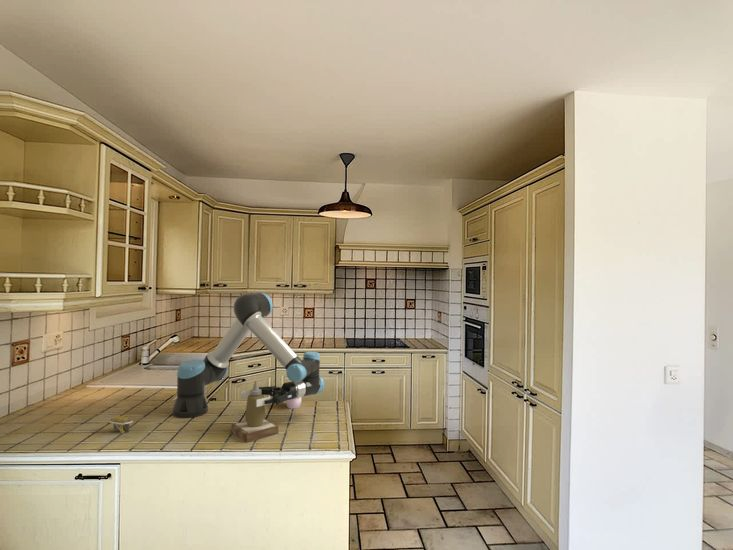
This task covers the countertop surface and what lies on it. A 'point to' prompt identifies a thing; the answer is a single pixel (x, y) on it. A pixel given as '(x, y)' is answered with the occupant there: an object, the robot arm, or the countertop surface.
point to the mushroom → (293, 403)
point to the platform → (121, 423)
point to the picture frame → (254, 430)
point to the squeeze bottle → (254, 407)
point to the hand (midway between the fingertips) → (248, 399)
